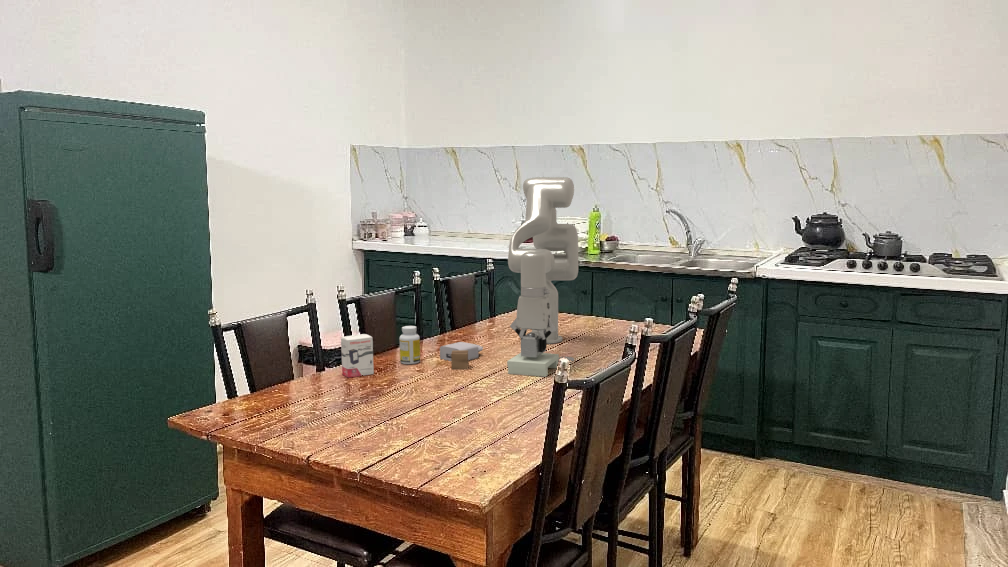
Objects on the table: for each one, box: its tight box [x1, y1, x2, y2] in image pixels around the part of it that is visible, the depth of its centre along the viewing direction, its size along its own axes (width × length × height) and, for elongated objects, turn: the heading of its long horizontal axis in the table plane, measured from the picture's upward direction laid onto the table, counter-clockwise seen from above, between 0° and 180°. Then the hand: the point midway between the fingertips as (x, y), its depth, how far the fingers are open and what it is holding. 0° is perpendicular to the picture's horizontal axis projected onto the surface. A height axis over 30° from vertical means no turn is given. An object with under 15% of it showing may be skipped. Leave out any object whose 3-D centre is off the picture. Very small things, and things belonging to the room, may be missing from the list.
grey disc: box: [558, 356, 575, 362], centre depth 261 cm, size 5×5×1 cm
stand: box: [506, 352, 560, 378], centre depth 248 cm, size 14×12×4 cm
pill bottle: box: [398, 325, 421, 365], centre depth 259 cm, size 6×6×12 cm
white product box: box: [340, 333, 375, 379], centre depth 244 cm, size 8×5×12 cm, turn 123°
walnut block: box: [450, 350, 469, 371], centre depth 252 cm, size 5×5×5 cm
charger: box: [439, 341, 484, 362], centre depth 267 cm, size 5×9×15 cm
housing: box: [520, 331, 547, 357], centre depth 247 cm, size 9×5×7 cm, turn 158°
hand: (533, 350), depth 247 cm, fingers closed on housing, 5 cm apart
